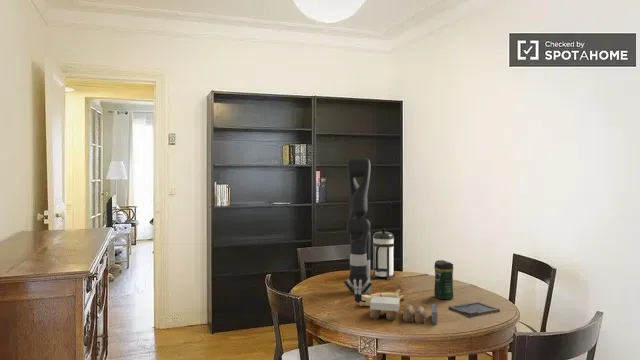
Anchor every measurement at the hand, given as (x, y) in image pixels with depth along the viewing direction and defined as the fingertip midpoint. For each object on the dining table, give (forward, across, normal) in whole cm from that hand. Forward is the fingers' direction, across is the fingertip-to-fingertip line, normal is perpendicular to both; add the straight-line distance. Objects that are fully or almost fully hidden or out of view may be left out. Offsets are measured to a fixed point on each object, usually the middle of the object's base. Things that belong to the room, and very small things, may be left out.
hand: (358, 302), depth 199 cm
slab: (+1, +12, 0) cm, 12 cm away
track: (+5, +18, 0) cm, 18 cm away
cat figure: (+6, +8, +19) cm, 22 cm away
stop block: (+5, +33, 0) cm, 33 cm away
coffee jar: (+5, +38, +37) cm, 53 cm away
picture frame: (+6, +51, +19) cm, 55 cm away
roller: (+5, +27, 0) cm, 28 cm away
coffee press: (+5, +4, +72) cm, 72 cm away
